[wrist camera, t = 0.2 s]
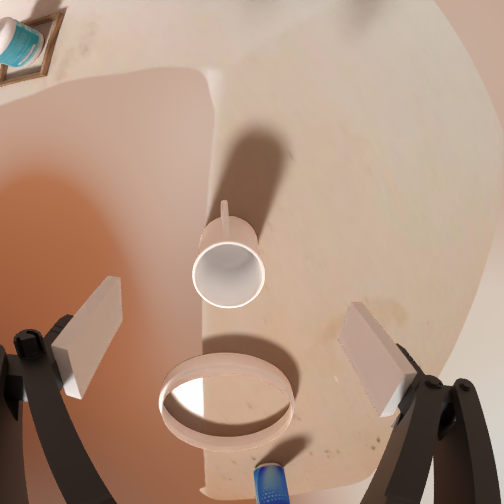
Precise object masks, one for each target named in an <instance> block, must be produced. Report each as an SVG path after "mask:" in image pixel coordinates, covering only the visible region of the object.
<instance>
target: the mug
mask: <svg viewBox="0 0 504 504" xmlns="http://www.w3.org/2000/svg"><path fill="white" fill-rule="evenodd" d="M192 277H193V283H194V286H195V288H196V290H197V292H198V293H199V294H200V296H201V297H202V298H203V299H205V300H206V301H207V302H209V303H211V304H213V305H215V306H218V307H222V308H235V307H240V306H243V305H245V304H247V303H249V302H250V301H252V300H253V299H254V298H255V297H256V296H257V295H258V294H259V292H260V291H261V289H262V287H263V284H264V280H265V269H264V265H263V261H262V258H261V255H260V252H259V248H258V240H257V236H256V233H255V231H254V229H253V228H252V227H251V225H250V224H249V223H247V222H246V221H245V220H243V219H241V218H238V217H234V216H229V213H228V202H227V200H222V201H221V217H219V218H217V219H215V220H213V221H211V222H210V223H209V224H208V225H207V226H206V227H205V229H204V230H203V232H202V234H201V237H200V246H199V249H198V253H197V256H196V259H195V262H194V266H193V271H192Z"/></svg>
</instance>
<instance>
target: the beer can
mask: <svg viewBox="0 0 504 504" xmlns="http://www.w3.org/2000/svg"><path fill="white" fill-rule="evenodd" d="M254 481H255V491H256V500H257V504H290V500H289V495H288V489H287V484H286V478H285V473H284V468H283V467H282V466H280V465H279V464H278V463H264V464H261V465H259V466H257V467H256V469H255V470H254Z"/></svg>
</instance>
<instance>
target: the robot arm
mask: <svg viewBox="0 0 504 504" xmlns="http://www.w3.org/2000/svg"><path fill="white" fill-rule="evenodd" d="M120 283H121V281H120V277H113V276H107V277H106V279H105V280H104V281H103V282H102V283H101V284H100V285H99V287H98V288H97V289H96V290H95V291H94V292H93V294H92V295H91V296H90V297H89V298H88V300H87V301H86V302H85V303H84V304H83V306H82V307H81V308H80V309H79V310H78V312H77V313H76V314H75V315H74V316H72V315H68V314H67V315H66V316H64V317H62V318H60V319H59V320H58V321H57V322H56V323H55V325H54V326H53V327H52V328H51V330H50V331H49V332H48V333H47V334H46V336H45V337H44V338H43V337H42V335H41V333H40V332H38V331H37V330H33V329H26V330H23V331H20V332H19V333H18V334H16V336H15V337H14V341H13V342H14V345H15V348H16V351H17V354H18V355H12V354H6V352H5V349H4V347H3V346H2V345H0V504H29V502H28V495H27V488H26V480H25V471H24V459H23V439H22V411H23V401H28V403H29V407H30V410H31V414H32V417H33V421H34V424H35V427H36V431H37V434H38V437H39V440H40V442H41V445H42V448H43V451H44V453H45V456H46V459H47V461H48V464H49V466H50V469H51V471H52V473H53V475H54V478H55V480H56V482H57V484H58V486H59V489H60V491H61V493H62V495H63V497H64V499H65V501H66V503H67V504H117V503H116V501H115V500H114V498H113V497H112V495H111V494H110V492H109V491H108V489H107V488H106V486H105V485H104V483H103V481H102V479H101V478H100V476H99V474H98V473H97V471H96V469H95V467H94V465H93V464H92V462H91V460H90V458H89V456H88V454H87V453H86V451H85V449H84V447H83V445H82V443H81V440H80V439H79V437H78V435H77V432H76V430H75V428H74V426H73V423H72V421H71V419H70V416H69V414H68V412H67V409H66V407H65V404H64V402H63V399H62V397H61V394H60V391H61V389H62V387H63V386H64V389H65V392H66V395H68V396H72V397H75V398H78V399H82V398H83V395H84V393H85V391H86V389H87V387H88V385H89V383H90V381H91V379H92V377H93V375H94V373H95V371H96V369H97V367H98V365H99V363H100V361H101V359H102V357H103V356H104V354H105V352H106V350H107V348H108V346H109V344H110V342H111V341H112V339H113V337H114V335H115V333H116V331H117V330H118V328H119V326H120V324H121V322H122V321H123V317H122V302H121V284H120ZM339 342H340V344H341V346H342V348H343V350H344V351H345V353H346V355H347V357H348V359H349V361H350V362H351V364H352V366H353V368H354V370H355V372H356V374H357V376H358V377H359V379H360V381H361V383H362V385H363V387H364V389H365V391H366V393H367V395H368V397H369V398H370V400H371V402H372V404H373V406H374V408H375V410H376V412H377V414H378V416H379V417H385V416H391V415H393V413H394V412H395V410H396V408H397V407H398V408H399V409H400V411H401V412H400V414H399V415H398V417H397V418H396V420H395V421H394V423H393V424H392V426H391V427H392V428H393V427H394V428H393V431H392V434H391V436H390V439H389V441H388V444H387V447H386V449H385V451H384V454H383V456H382V459H381V461H380V463H379V466H378V468H377V470H376V472H375V474H374V477H373V479H372V481H371V483H370V485H369V487H368V489H367V491H366V493H365V495H364V497H363V499H362V501H361V503H360V504H420V501H421V498H422V495H423V492H424V488H425V485H426V481H427V477H428V473H429V470H430V466H431V461H432V457H433V460H434V504H501V498H500V490H499V482H498V476H497V470H496V465H495V460H494V455H493V450H492V445H491V441H490V437H489V433H488V429H487V425H486V422H485V418H484V414H483V411H482V408H481V405H480V401H479V398H478V395H477V392H476V389H475V387H474V385H473V384H472V383H471V382H470V381H468V380H467V379H462V378H460V379H457V380H456V381H455V383H454V385H453V386H445V385H443V384H442V382H441V381H440V380H439V379H438V378H436V377H435V376H432V375H425V374H424V373H423V371H422V370H421V369H420V367H419V366H418V365H417V364H416V362H415V361H413V358H412V357H411V356H409V353H408V352H407V351H406V350H405V348H403V347H402V346H400V345H399V344H395V343H394V341H393V340H392V339H391V338H390V336H389V335H388V334H387V333H386V331H385V330H384V329H383V327H382V326H381V325H380V324H379V322H378V321H377V320H376V319H375V318H374V316H373V315H372V314H371V313H370V311H369V310H368V309H367V308H366V306H365V305H364V304H363V303H362V302H351V303H350V306H349V310H348V313H347V316H346V319H345V322H344V325H343V328H342V331H341V334H340V337H339Z"/></svg>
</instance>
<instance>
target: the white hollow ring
mask: <svg viewBox="0 0 504 504" xmlns="http://www.w3.org/2000/svg"><path fill="white" fill-rule="evenodd" d="M214 375H235V376H244V377H249V378H254V379H257V380H260V381H263V382H266V383H268V384H270V385H272V386H274V387H275V388H277V389H278V390H280V391H281V392H282V393H283V394H284V395H285V396H286V397H287V398H288V400H289V402H290V406H289V408H288V410H287V411H286V413H285V414H284V415H283V416H282V417H281V418H280V419H279V420H278V421H277V422H276V423H274V424H273V425H271V426H270V427H268V428H266V429H264V430H261V431H259V432H256V433H253V434H249V435H244V436H237V437H218V436H211V435H206V434H203V388H202V377H206V376H214ZM294 407H295V401H294V396H293V392H292V388H291V385H290V383H289V381H288V379H287V378H286V376H285V375H284V374H283V373H282V372H281V371H280V370H279V369H278V368H277V367H275V366H274V365H272V364H270V363H269V362H267V361H264V360H262V359H260V358H257V357H254V356H250V355H245V354H239V353H211V354H205V355H199V356H196V357H193V358H190V359H187V360H185V361H184V362H182V363H180V364H179V365H177V366H175V367H174V368H173V369H172V370H171V371H170V372H169V373H168V375H167V376H166V377H165V379H164V381H163V384H162V387H161V392H160V396H159V408H160V412H161V414H162V418H163V421H164V423H165V424H166V426H167V428H168V429H169V430H170V431H171V432H172V433H173V434H174V435H175V436H177V437H178V438H180V439H181V440H183V441H184V442H186V443H188V444H190V445H193V446H195V447H199V448H202V449H205V450H210V451H217V452H238V451H246V450H250V449H254V448H258V447H260V446H263V445H265V444H268V443H270V442H271V441H273V440H275V439H276V438H278V437H279V436H280V435H281V434H282V433H283V432H284V431H285V430H286V429H287V427H288V426H289V424H290V422H291V419H292V415H293V412H294Z"/></svg>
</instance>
